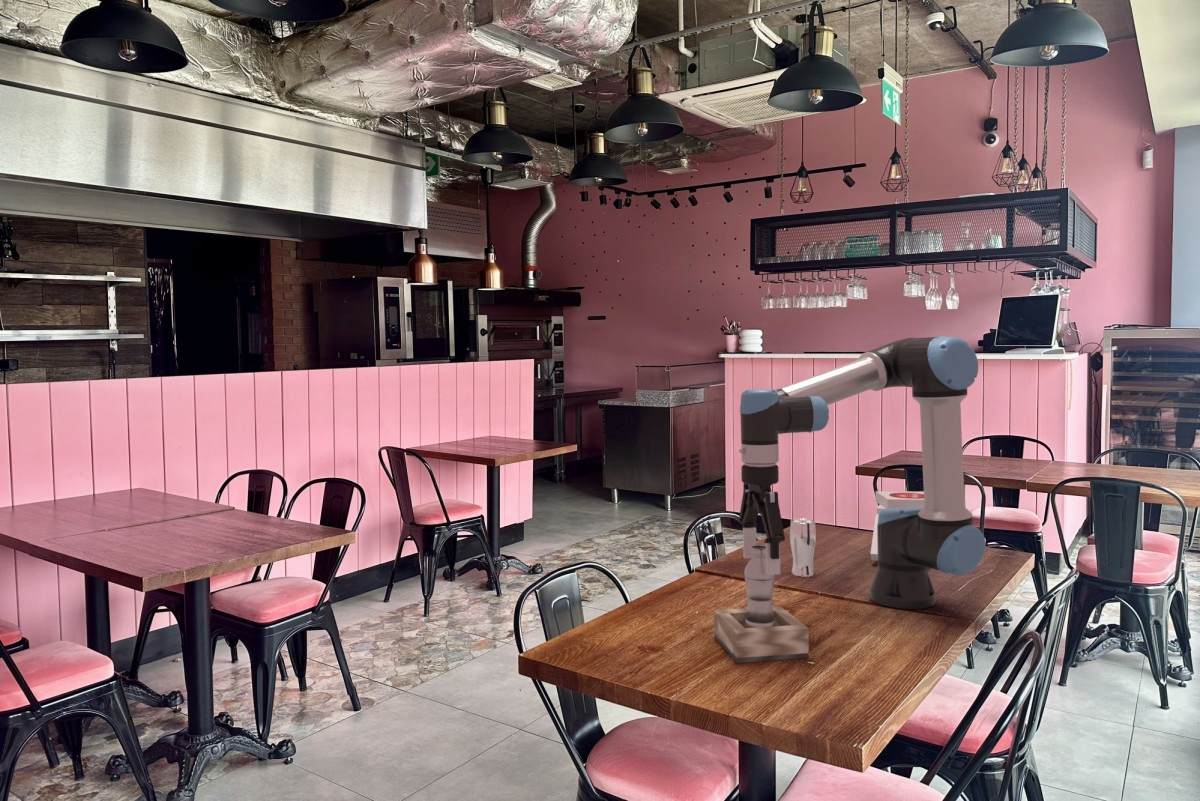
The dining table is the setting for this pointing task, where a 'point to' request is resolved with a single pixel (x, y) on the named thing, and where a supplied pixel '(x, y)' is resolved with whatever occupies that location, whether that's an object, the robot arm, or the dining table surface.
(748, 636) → the bottle holder
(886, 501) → the pizza boxes
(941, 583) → the dining table surface
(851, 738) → the dining table surface
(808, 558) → the beer glass
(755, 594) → the plastic bottle
